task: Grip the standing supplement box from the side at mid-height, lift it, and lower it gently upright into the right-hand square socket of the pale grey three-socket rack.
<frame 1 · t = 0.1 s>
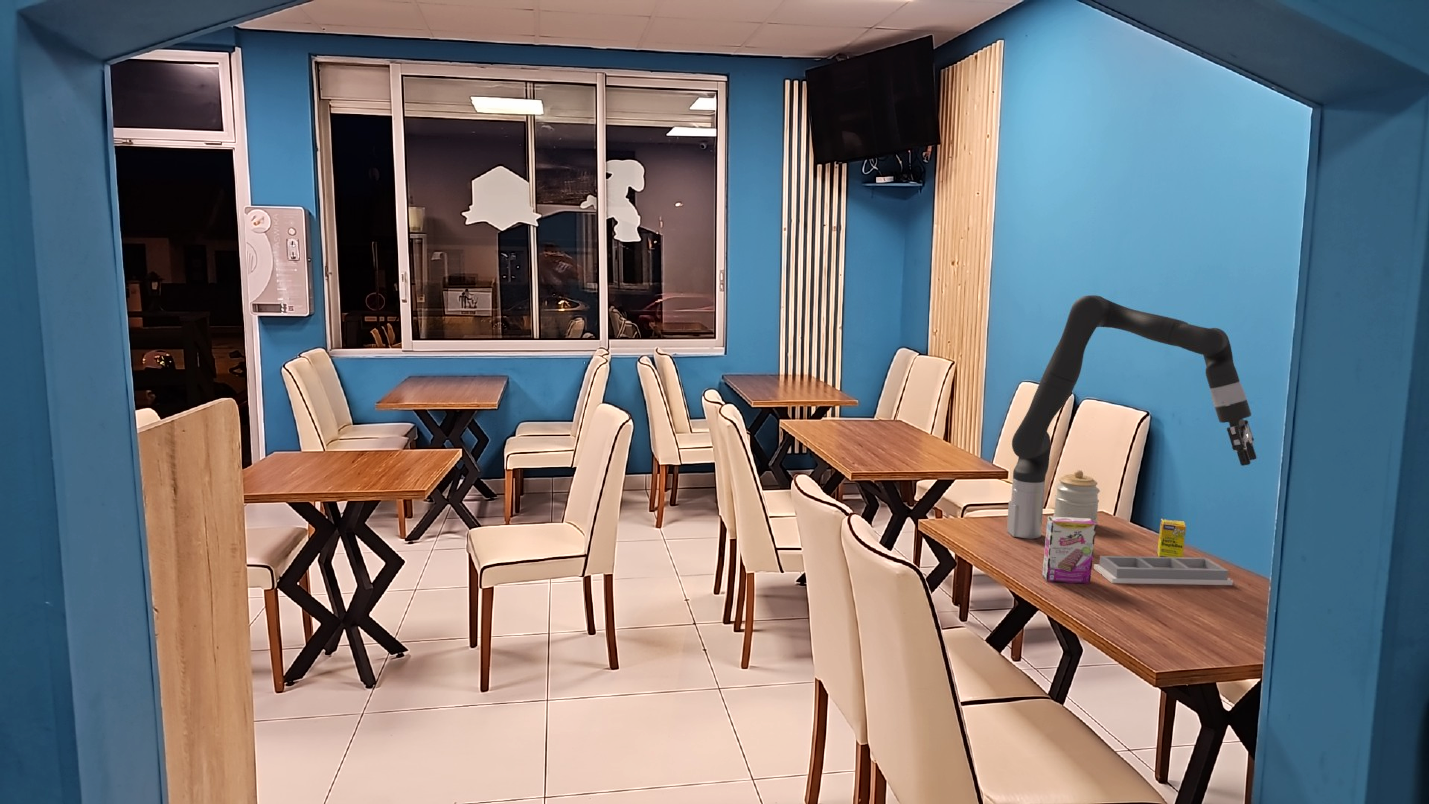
hand: (1249, 462, 231), 31 cm above the table, tool tilted 20°, fingers open, 8 cm apart
rack: (1161, 576, 236), on the table
supplement box: (1169, 560, 250), on the table
candy bar box: (1066, 581, 232), on the table
jar: (1074, 525, 284), on the table
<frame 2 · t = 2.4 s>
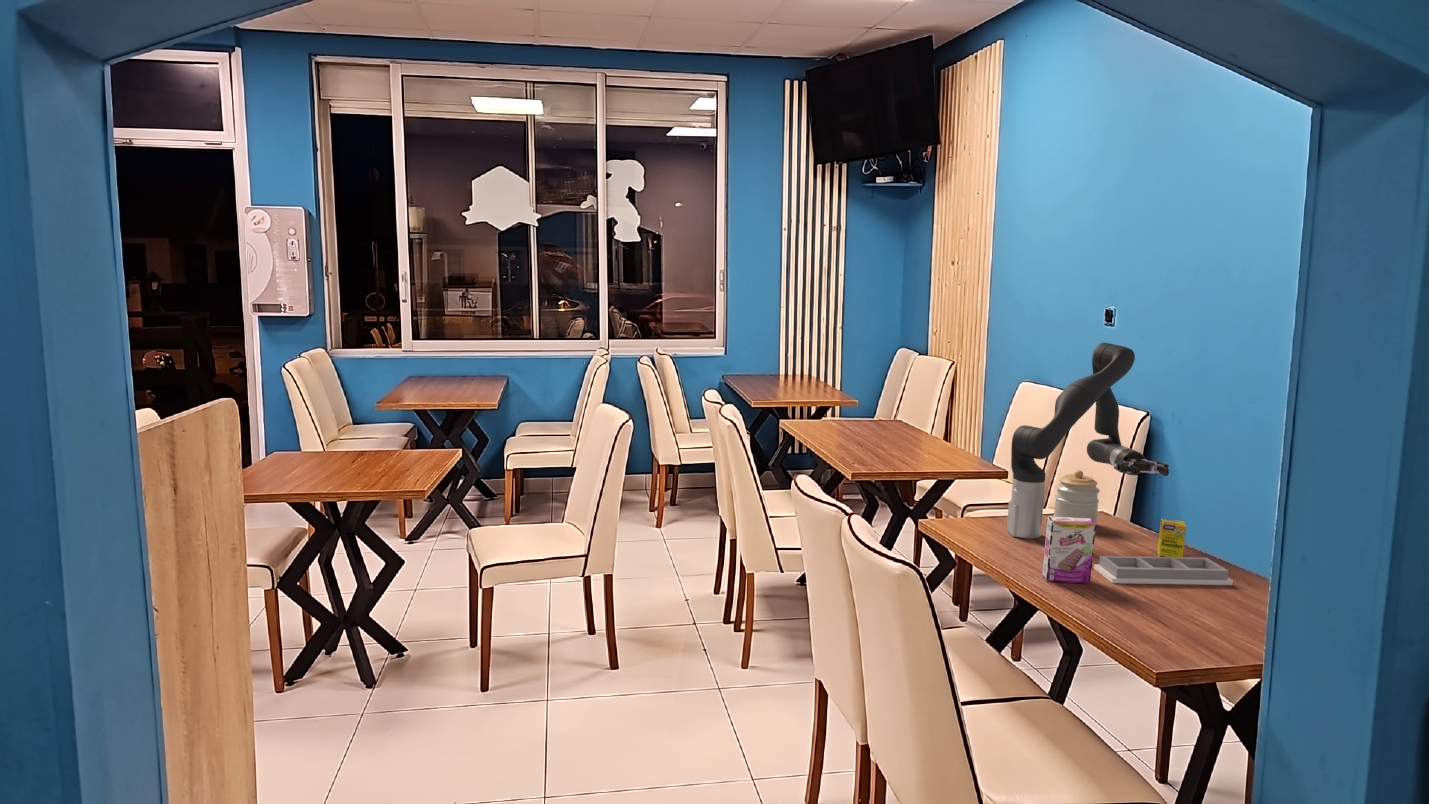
hand: (1152, 472, 261), 22 cm above the table, tool horizontal, fingers open, 8 cm apart
nothing on the table moved.
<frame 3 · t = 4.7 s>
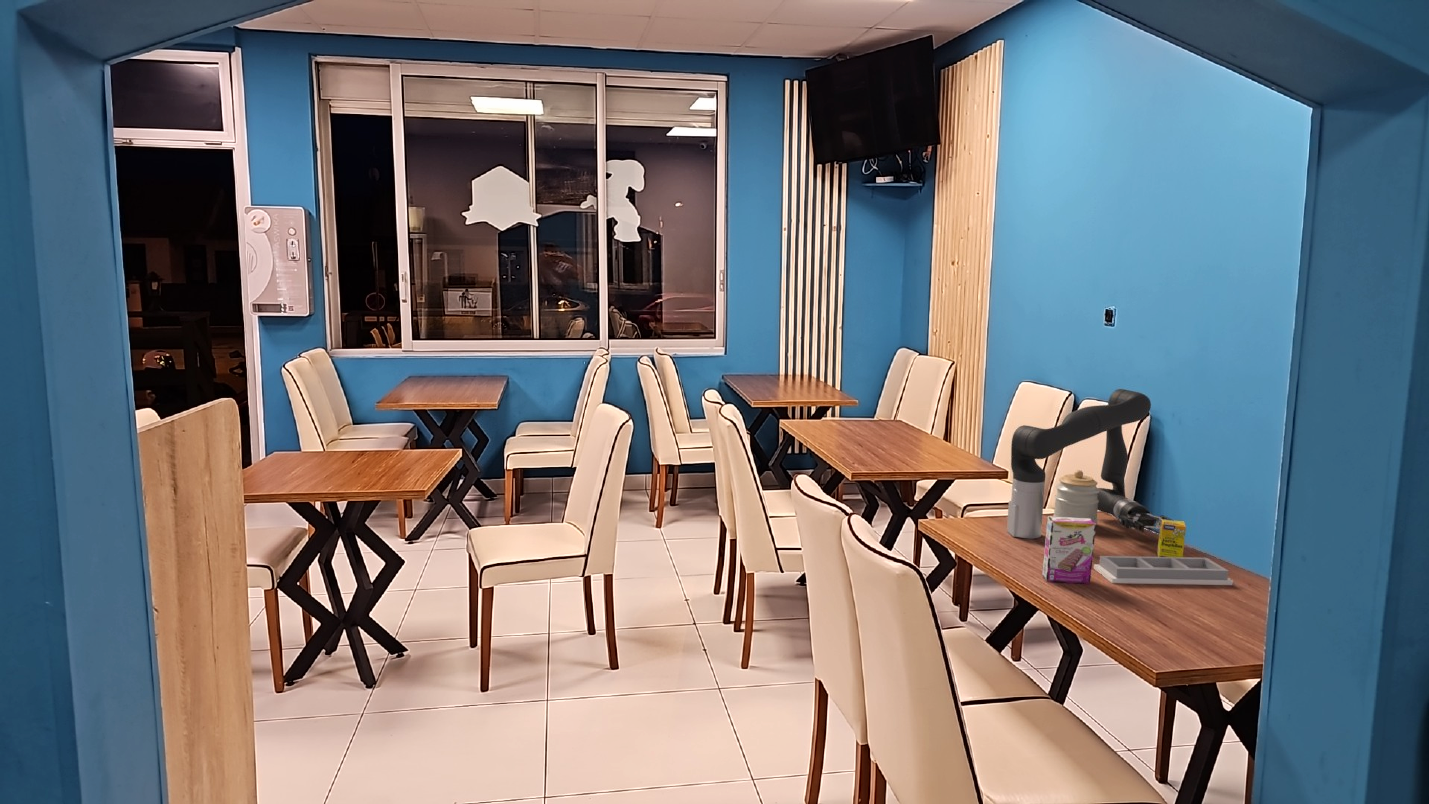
hand: (1157, 528, 257), 7 cm above the table, tool horizontal, fingers open, 8 cm apart
nothing on the table moved.
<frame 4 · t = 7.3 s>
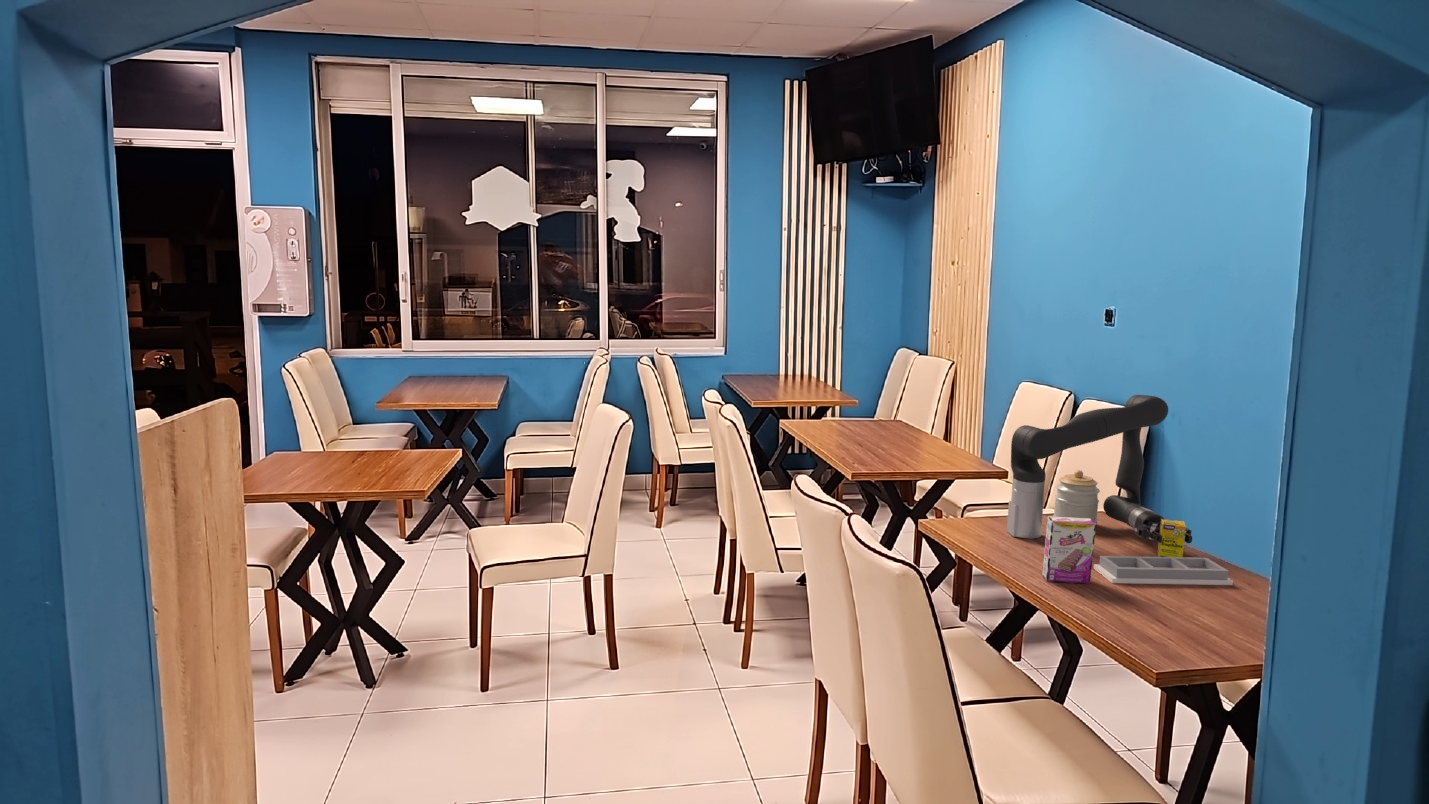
hand: (1175, 539, 247), 7 cm above the table, tool horizontal, fingers closed on supplement box, 7 cm apart
supplement box: (1169, 560, 250), on the table, touching gripper
everything else where it was.
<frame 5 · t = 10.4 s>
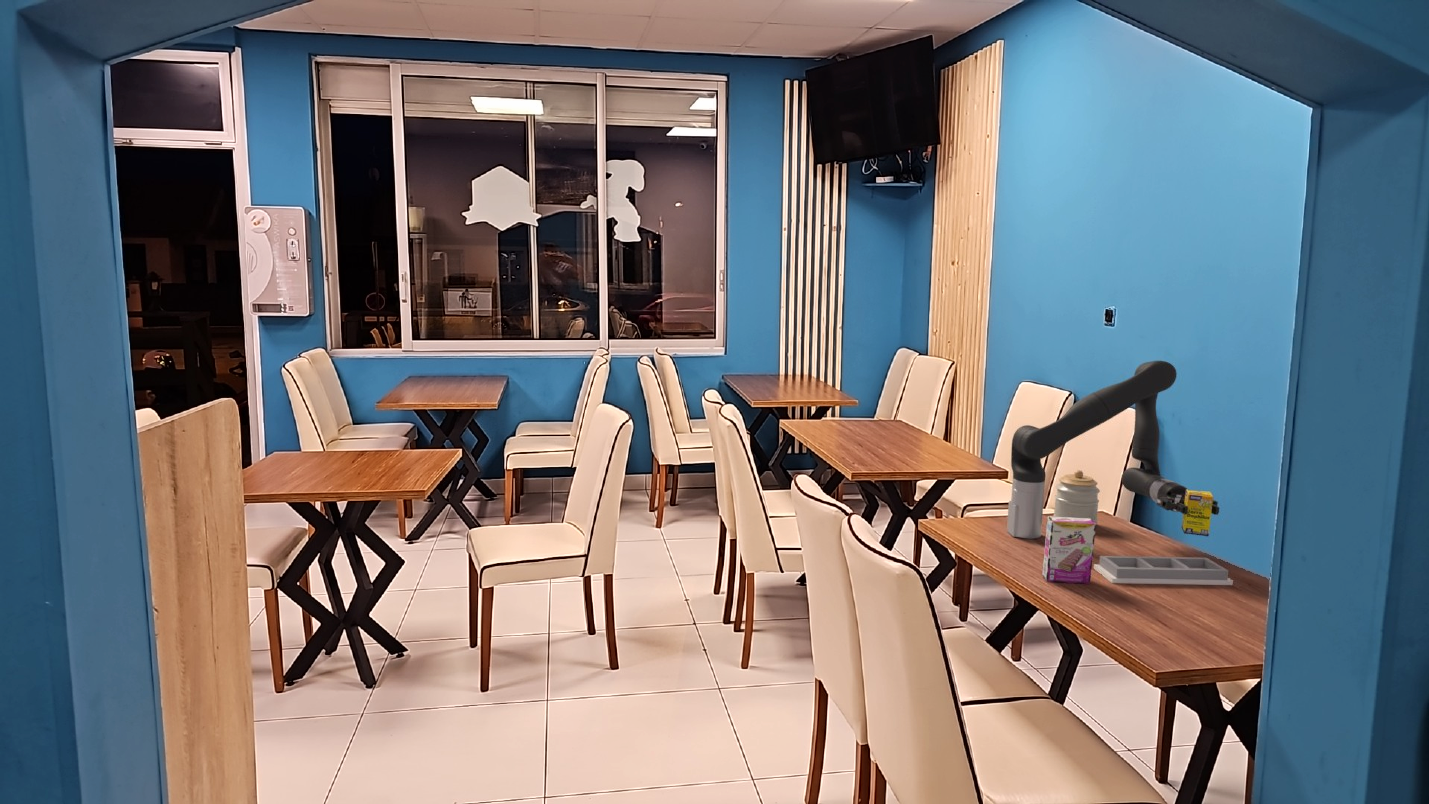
hand: (1201, 510, 235), 18 cm above the table, tool horizontal, fingers closed on supplement box, 7 cm apart
supplement box: (1194, 533, 238), point 11 cm above the table, touching gripper
everything else where it was.
when the fingers open (9 cm above the table, at t = 14.0 s): supplement box drops 1 cm, resting on rack.
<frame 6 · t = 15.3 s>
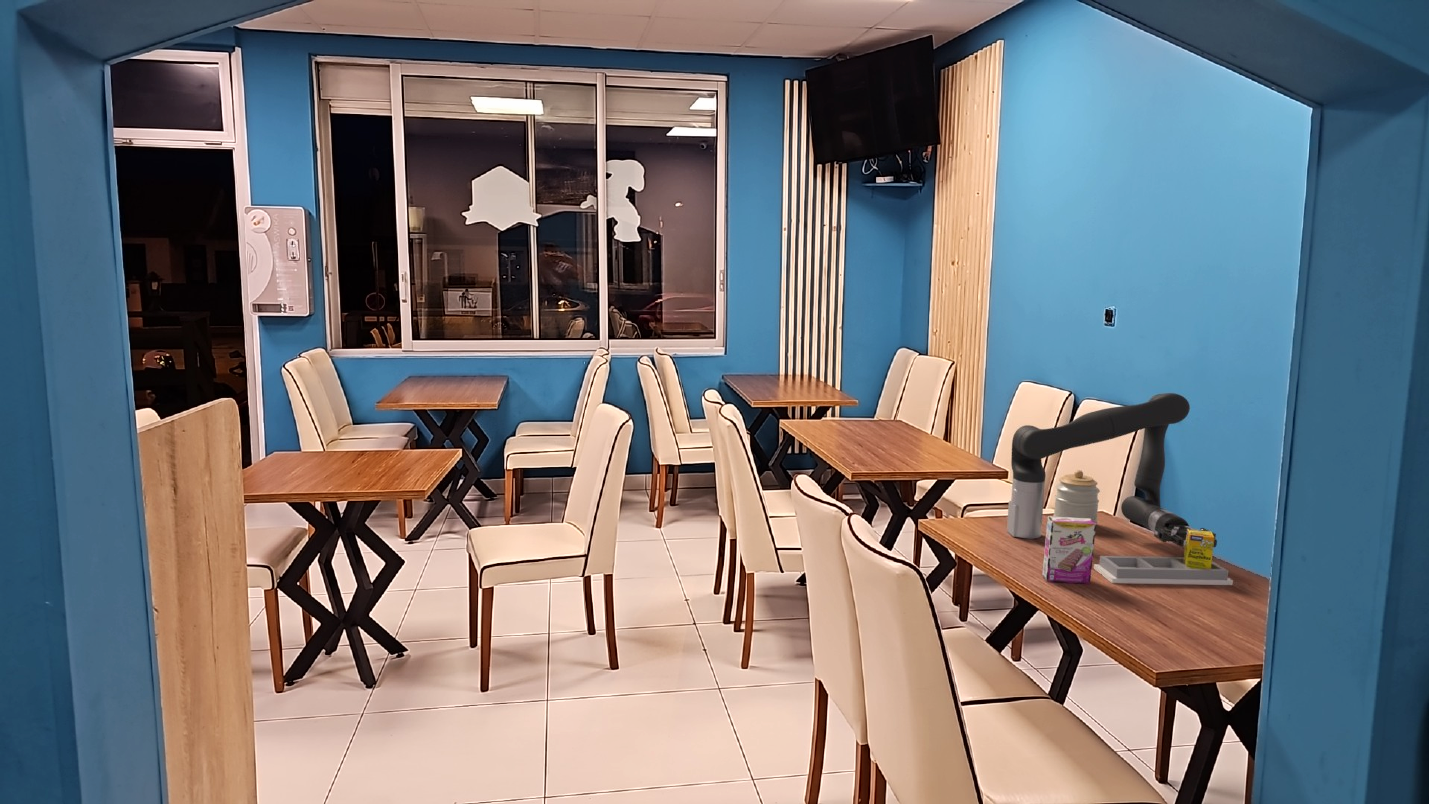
hand: (1198, 543, 235), 9 cm above the table, tool horizontal, fingers open, 8 cm apart
supplement box: (1196, 573, 236), point 1 cm above the table, touching gripper, rack
everything else where it was.
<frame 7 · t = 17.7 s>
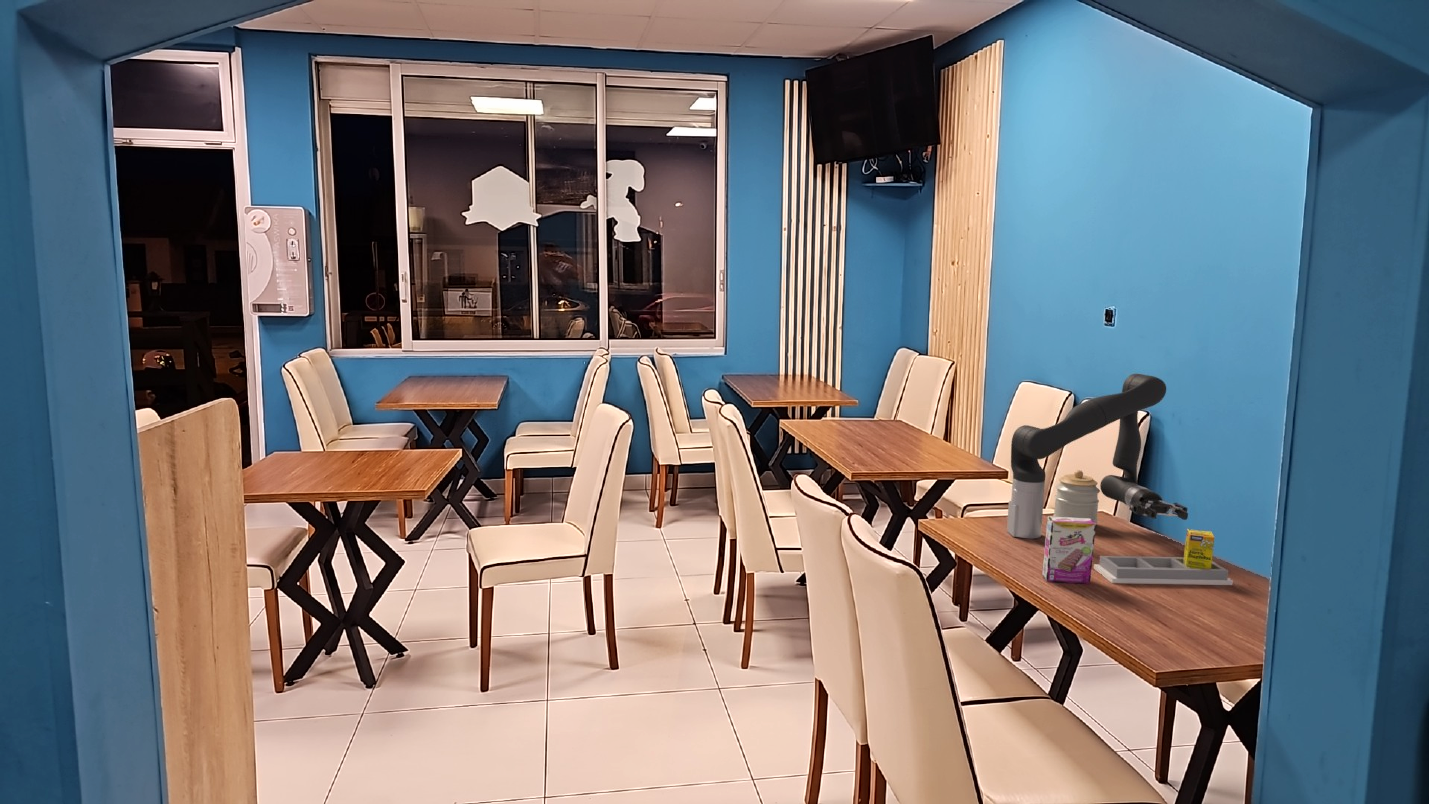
hand: (1170, 515, 248), 13 cm above the table, tool horizontal, fingers open, 8 cm apart
supplement box: (1196, 573, 236), point 1 cm above the table, touching rack
everything else where it was.
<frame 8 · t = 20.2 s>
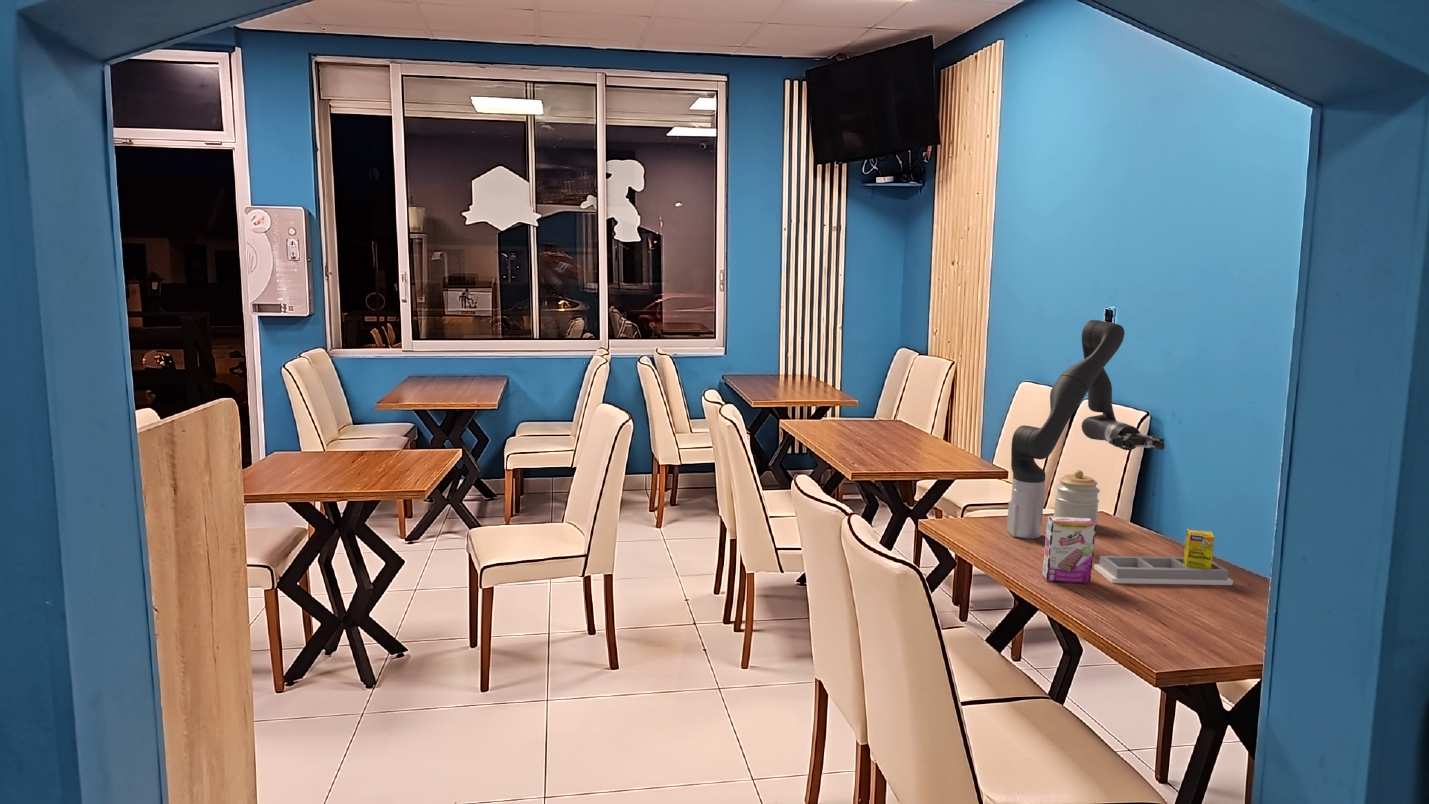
hand: (1147, 446, 257), 30 cm above the table, tool horizontal, fingers open, 8 cm apart
nothing on the table moved.
at the end: supplement box 0.2 cm from the target spot on the rack, point 1.0 cm above the rack's base; supplement box tilted 0°; the gripper is holding nothing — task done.
